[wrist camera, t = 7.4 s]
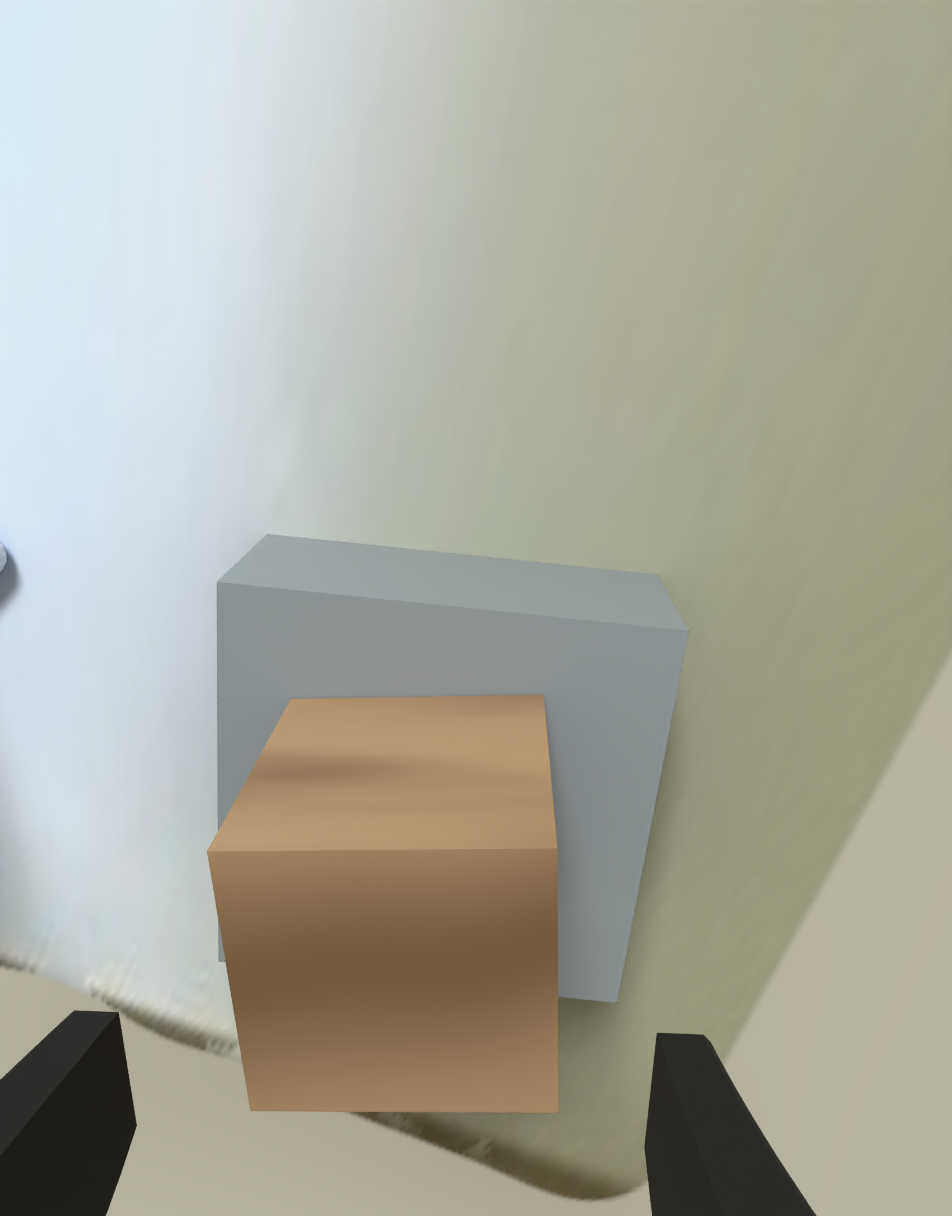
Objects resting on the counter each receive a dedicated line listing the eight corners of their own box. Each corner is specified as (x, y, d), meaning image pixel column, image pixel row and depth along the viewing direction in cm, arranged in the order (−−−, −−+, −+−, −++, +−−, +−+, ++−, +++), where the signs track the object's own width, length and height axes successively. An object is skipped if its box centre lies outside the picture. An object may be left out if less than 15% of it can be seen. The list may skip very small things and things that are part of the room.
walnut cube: (545, 905, 18) (559, 1113, 14) (315, 906, 19) (250, 1111, 14) (543, 694, 17) (557, 848, 12) (290, 698, 17) (207, 851, 12)
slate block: (599, 888, 23) (616, 1003, 19) (266, 854, 23) (218, 961, 19) (654, 569, 20) (688, 630, 16) (272, 530, 20) (216, 581, 16)
